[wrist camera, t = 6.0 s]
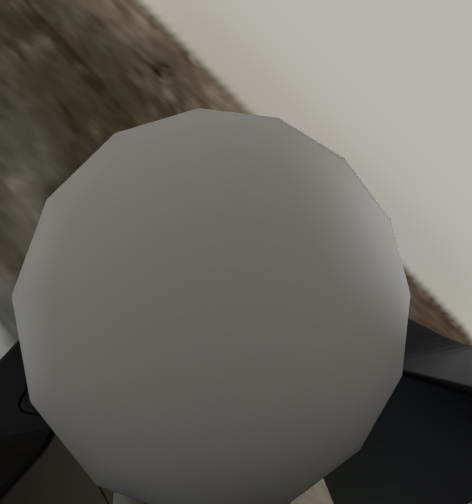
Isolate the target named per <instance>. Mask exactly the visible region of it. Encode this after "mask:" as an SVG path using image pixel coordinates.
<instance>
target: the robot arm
mask: <svg viewBox="0 0 472 504" xmlns="http://www.w3.org/2000/svg"><path fill="white" fill-rule="evenodd" d="M324 481H325V483H326V486H327V488H328V490H329V493H330V495H331V498H332V500H333V503H334V504H472V346H471V345H467V344H464V343H460V342H458V341H455V340H452V339H450V338H448V337H446V336H444V335H442V334H440V333H438V332H436V331H434V330H432V329H430V328H428V327H426V326H424V325H422V324H420V323H418V322H416V321H414V320H412V319H410V318H408V322H407V332H406V342H405V352H404V362H403V372H402V377H401V378H400V380H399V382H398V384H397V386H396V387H395V389H394V391H393V393H392V394H391V396H390V398H389V400H388V401H387V403H386V405H385V407H384V408H383V410H382V412H381V414H380V416H379V417H378V419H377V421H376V423H375V424H374V426H373V428H372V430H371V431H370V433H369V435H368V437H367V438H366V440H365V442H364V444H363V445H362V447H361V449H360V450H359V451H358V452H357V453H355V454H354V455H353V456H351V457H350V458H349V459H347V460H346V461H345V462H343V463H342V464H341V465H340V466H338V467H337V468H336V469H334V470H333V471H332V472H330V473H329V474H328V475H326V476H325V477H324ZM113 492H114V491H111V490H108V489H105V488H103V487H100V486H97V485H96V484H95V483H94V482H93V480H92V479H91V478H90V477H89V475H88V474H87V473H86V472H85V470H84V469H83V468H82V466H81V465H80V464H79V463H78V461H77V460H76V459H75V458H74V456H73V455H72V454H71V453H70V451H69V450H68V449H67V448H66V446H65V445H64V444H63V442H62V441H61V440H60V439H59V437H58V436H57V435H56V434H55V432H54V431H53V430H52V429H51V427H50V426H49V425H48V424H47V422H46V421H45V420H44V419H43V417H42V416H41V415H40V413H39V412H38V411H37V410H36V408H35V407H34V406H33V405H32V403H31V402H30V397H29V392H28V386H27V380H26V375H25V369H24V364H23V358H22V352H21V347H20V341H19V340H18V341H17V342H16V343H15V345H14V346H13V347H12V348H11V349H10V350H9V351H8V352H7V353H6V354H5V355H4V356H3V357H2V359H1V360H0V504H113Z"/></svg>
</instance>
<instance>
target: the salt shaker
mask: <svg viewBox="0 0 472 504" xmlns="http://www.w3.org/2000/svg"><path fill="white" fill-rule="evenodd" d="M12 302H13V307H14V313H15V319H16V324H17V330H18V336H19V341H20V347H21V352H22V358H23V364H24V369H25V375H26V380H27V386H28V392H29V397H30V402H31V403H32V405H33V406H34V407H35V408H36V410H37V411H38V412H39V413H40V415H41V416H42V417H43V419H44V420H45V421H46V422H47V424H48V425H49V426H50V427H51V429H52V430H53V431H54V432H55V434H56V435H57V436H58V437H59V439H60V440H61V441H62V442H63V444H64V445H65V446H66V448H67V449H68V450H69V451H70V453H71V454H72V455H73V456H74V458H75V459H76V460H77V461H78V463H79V464H80V465H81V466H82V468H83V469H84V470H85V472H86V473H87V474H88V475H89V477H90V478H91V479H92V480H93V482H94V483H95V484H96V485H97V486H100V487H103V488H105V489H108V490H111V491H114V492H117V493H120V494H122V495H125V496H128V497H131V498H134V499H137V500H139V501H142V502H145V503H148V504H289V503H291V502H292V501H293V500H295V499H296V498H297V497H299V496H300V495H301V494H303V493H304V492H305V491H307V490H308V489H309V488H311V487H312V486H313V485H314V484H316V483H317V482H318V481H320V480H321V479H322V478H324V477H325V476H326V475H328V474H329V473H330V472H332V471H333V470H334V469H336V468H337V467H338V466H340V465H341V464H342V463H343V462H345V461H346V460H347V459H349V458H350V457H351V456H353V455H354V454H355V453H357V452H358V451H359V450H360V449H361V447H362V445H363V444H364V442H365V440H366V438H367V437H368V435H369V433H370V431H371V430H372V428H373V426H374V424H375V423H376V421H377V419H378V417H379V416H380V414H381V412H382V410H383V408H384V407H385V405H386V403H387V401H388V400H389V398H390V396H391V394H392V393H393V391H394V389H395V387H396V386H397V384H398V382H399V380H400V378H401V377H402V372H403V362H404V352H405V342H406V332H407V322H408V313H409V303H410V292H409V288H408V284H407V280H406V276H405V273H404V269H403V265H402V261H401V257H400V253H399V250H398V246H397V242H396V238H395V234H394V230H393V227H392V223H391V219H390V218H389V217H388V215H387V214H386V213H385V211H384V210H383V209H382V207H381V206H380V205H379V204H378V202H377V201H376V200H375V198H374V197H373V196H372V194H371V193H370V192H369V191H368V189H367V188H366V186H365V185H364V184H363V182H362V181H361V180H360V179H359V177H358V176H357V175H356V173H355V172H354V171H353V169H352V168H351V167H350V166H349V164H348V163H347V161H346V160H345V159H344V158H343V157H341V156H339V155H338V154H336V153H334V152H333V151H331V150H330V149H328V148H326V147H325V146H323V145H321V144H320V143H318V142H316V141H315V140H313V139H312V138H310V137H308V136H307V135H305V134H303V133H302V132H300V131H299V130H297V129H296V128H294V127H292V126H291V125H289V124H287V123H286V122H284V121H283V120H281V119H279V118H274V117H267V116H258V115H250V114H242V113H234V112H225V111H217V110H209V109H201V108H197V109H194V110H191V111H187V112H184V113H181V114H177V115H174V116H171V117H167V118H164V119H161V120H157V121H154V122H151V123H147V124H144V125H141V126H137V127H134V128H131V129H127V130H124V131H120V132H117V133H114V134H113V135H112V136H111V137H110V138H109V139H108V140H107V141H106V142H105V143H104V144H103V145H102V146H101V147H100V148H99V149H98V150H97V151H96V152H95V153H94V154H93V155H92V156H91V157H90V158H89V159H88V160H87V161H86V162H85V163H84V164H83V165H82V166H81V167H80V168H78V169H77V170H76V171H75V172H74V173H73V174H72V175H71V176H70V177H69V178H68V179H67V180H66V181H65V182H64V183H63V184H62V185H61V186H60V187H59V188H58V189H57V190H56V191H55V192H54V193H53V194H52V195H51V196H50V197H49V198H48V199H47V200H46V203H45V206H44V208H43V211H42V214H41V217H40V219H39V222H38V225H37V228H36V230H35V233H34V236H33V239H32V241H31V244H30V247H29V250H28V252H27V255H26V258H25V261H24V263H23V266H22V269H21V272H20V274H19V277H18V280H17V283H16V285H15V288H14V291H13V294H12Z"/></svg>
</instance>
